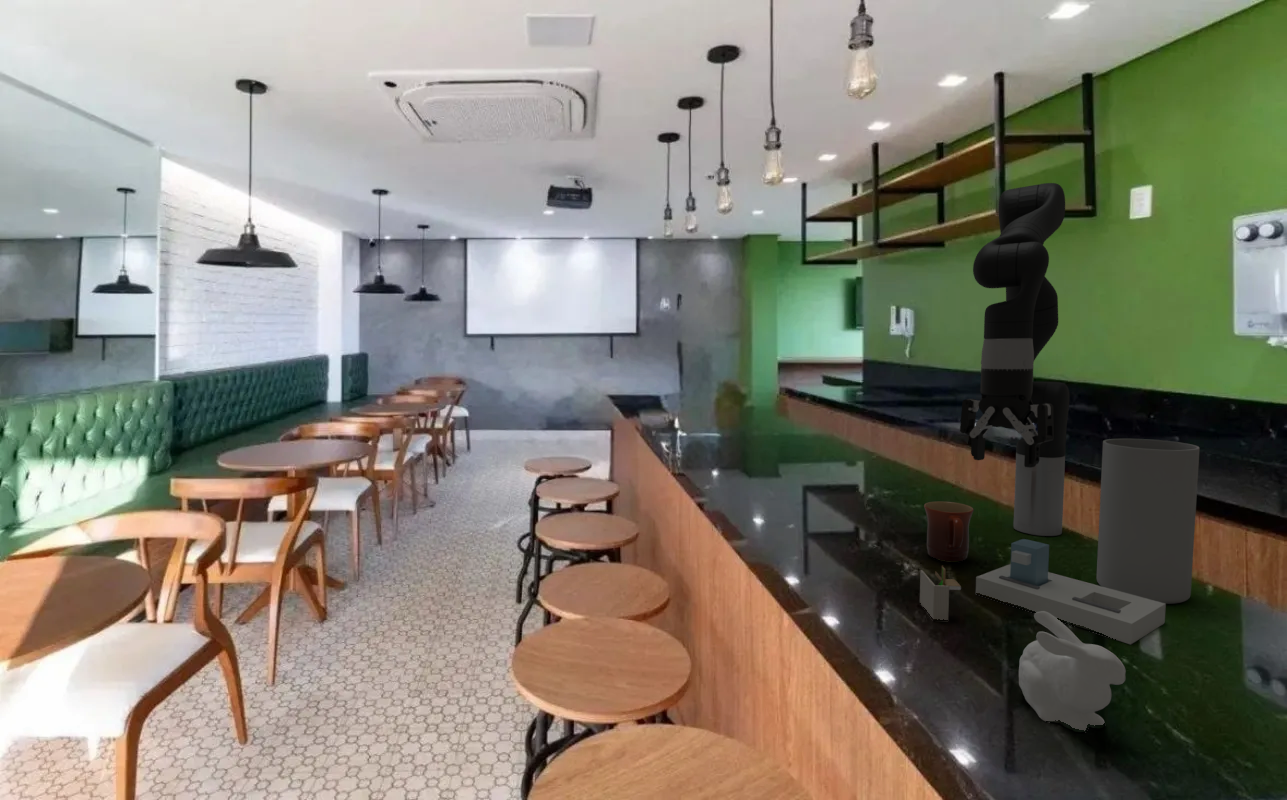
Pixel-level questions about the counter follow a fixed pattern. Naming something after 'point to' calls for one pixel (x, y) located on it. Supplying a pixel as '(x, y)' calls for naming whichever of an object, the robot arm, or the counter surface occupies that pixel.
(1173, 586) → the cylinder vase
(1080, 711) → the rabbit
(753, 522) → the counter surface
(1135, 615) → the port panel
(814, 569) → the counter surface
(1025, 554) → the plug
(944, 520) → the mug
